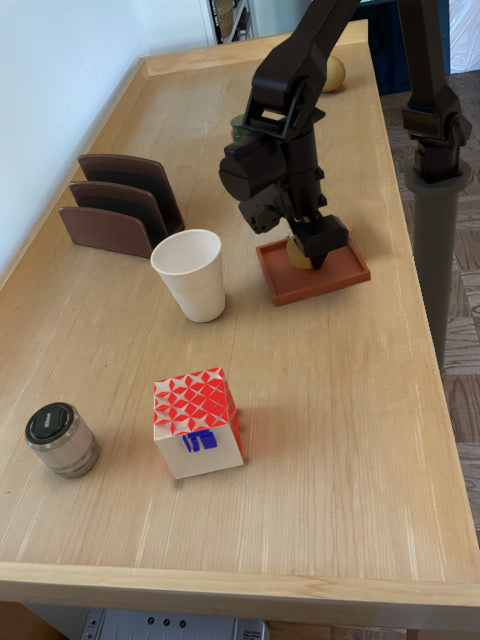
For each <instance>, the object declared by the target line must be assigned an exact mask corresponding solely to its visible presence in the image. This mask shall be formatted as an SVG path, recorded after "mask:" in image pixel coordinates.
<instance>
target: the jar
mask: <svg viewBox="0 0 480 640" xmlns="http://www.w3.org/2000/svg"><path fill="white" fill-rule="evenodd" d="M244 114H245V113H242V114H239V115H236V116H234V117H233V118H232V119H231V120H230V122H229V124H230V125H231V126H230V127H231V131H230V136H231V140H232V143H234V142H237V141H239V140H241V139H242V138H244V137H245V136H247V135H249V134H250V132H249V131H246V130H243V129H242V128H241V125H242V121H243V118H244Z"/></svg>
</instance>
